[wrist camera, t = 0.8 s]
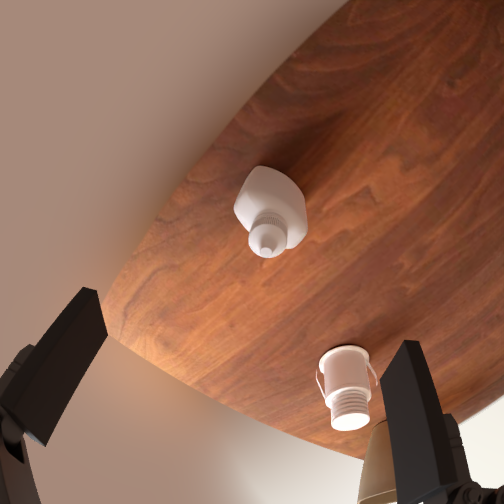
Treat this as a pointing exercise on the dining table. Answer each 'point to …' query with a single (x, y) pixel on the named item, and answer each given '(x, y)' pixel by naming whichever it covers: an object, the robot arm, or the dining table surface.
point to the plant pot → (378, 469)
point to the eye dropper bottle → (271, 211)
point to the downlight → (347, 386)
